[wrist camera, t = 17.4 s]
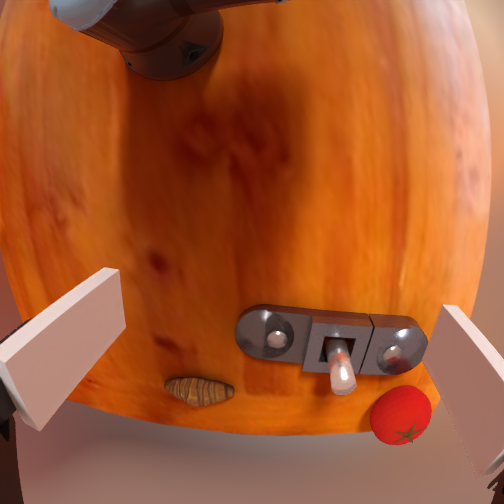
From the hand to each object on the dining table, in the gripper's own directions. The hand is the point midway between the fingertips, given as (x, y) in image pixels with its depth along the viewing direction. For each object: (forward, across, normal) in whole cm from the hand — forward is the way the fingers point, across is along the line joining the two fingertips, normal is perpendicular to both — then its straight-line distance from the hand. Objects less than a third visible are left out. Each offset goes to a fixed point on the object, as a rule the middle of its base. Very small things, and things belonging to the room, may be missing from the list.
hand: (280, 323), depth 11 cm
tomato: (+31, +26, -34) cm, 53 cm away
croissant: (+31, -12, -35) cm, 48 cm away
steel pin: (+31, +10, -20) cm, 38 cm away
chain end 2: (+31, +16, -20) cm, 40 cm away
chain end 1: (+31, +5, -20) cm, 37 cm away
